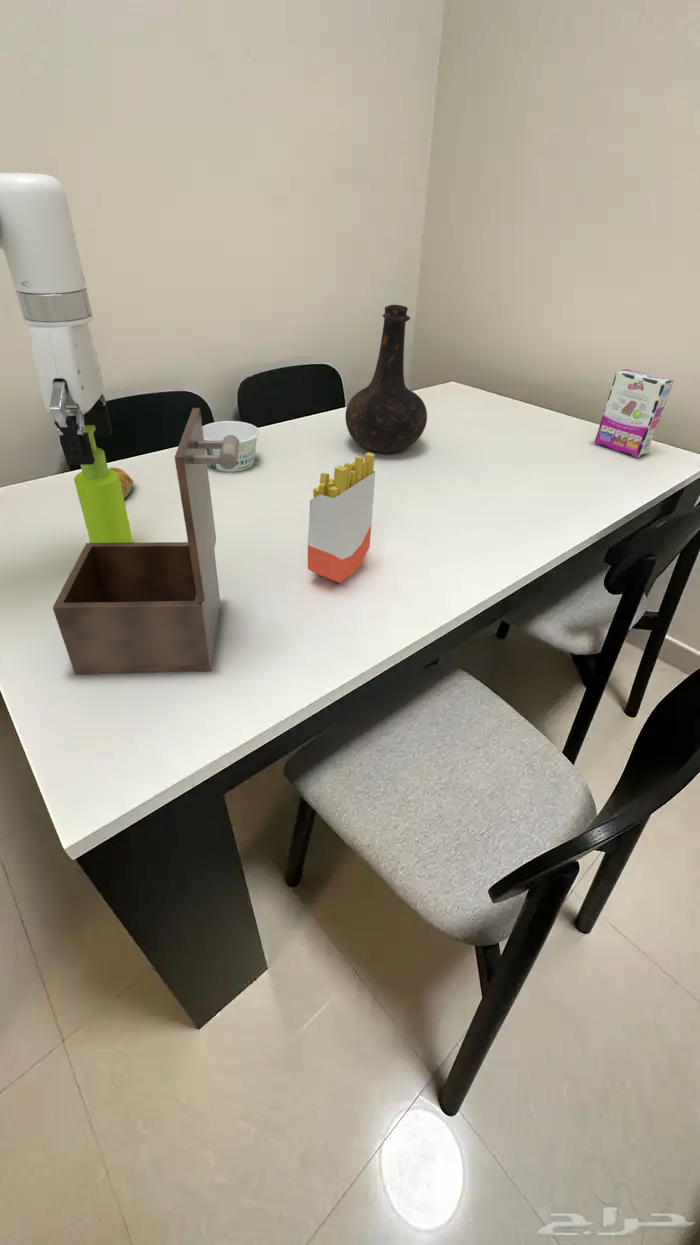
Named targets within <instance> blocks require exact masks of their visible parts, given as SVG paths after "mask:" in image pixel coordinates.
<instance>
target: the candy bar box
mask: <svg viewBox="0 0 700 1245" xmlns="http://www.w3.org/2000/svg"><path fill="white" fill-rule="evenodd" d="M674 381H675V380H674V379H670V378H665V377H662V376H658V375H653V374H649V373H646V372H645V373H644V372H640V371H636V370H632V369H627V368H626V369H621V370H618V371H616V372H615V374H614V378H613V381H612V385H611V387H610V392H609V395H608V399H607V401H606V404H605V407H604V411H603V414H602V417H601V420H600V423H599V427H598V430H597V433H596V437H595V440H594V445H598V446H600V447H603V448H606V449H609V450H612V451H615V452H618V453H621V454H624V455H627V456H630V457H633V458H637V459H638V458H640V457H643V456H645V455H647V454H648V452H649V449H650V447H651V444H652V440H653V438H654V436H655V433H656V430H657V427H658V425H659V423H660V419H661V416H662V414H663V411H664V409H665V406H666V403H667V400H668V398H669V395H670V392H671V389H672V386H673V384H674Z"/></svg>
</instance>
